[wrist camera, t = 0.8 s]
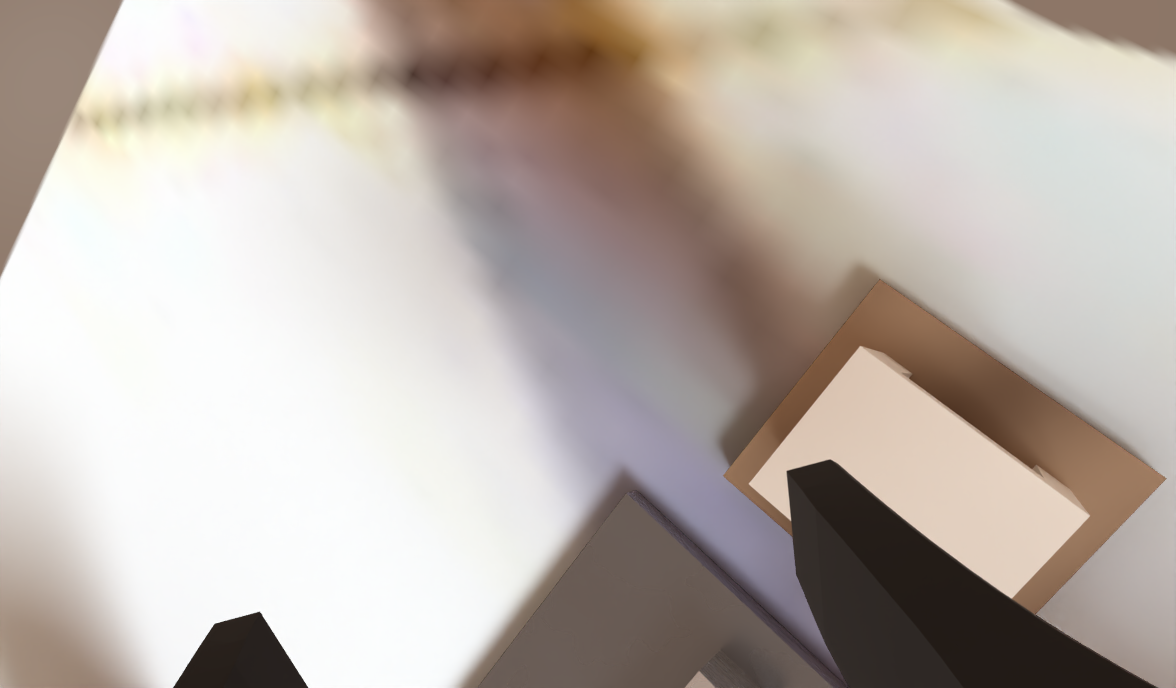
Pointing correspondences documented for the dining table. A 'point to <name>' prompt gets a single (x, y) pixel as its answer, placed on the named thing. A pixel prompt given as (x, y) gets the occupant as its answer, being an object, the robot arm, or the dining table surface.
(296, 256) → the dining table surface
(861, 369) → the u clip
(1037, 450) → the brown square backing plate
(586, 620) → the rack
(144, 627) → the dining table surface
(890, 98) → the dining table surface
